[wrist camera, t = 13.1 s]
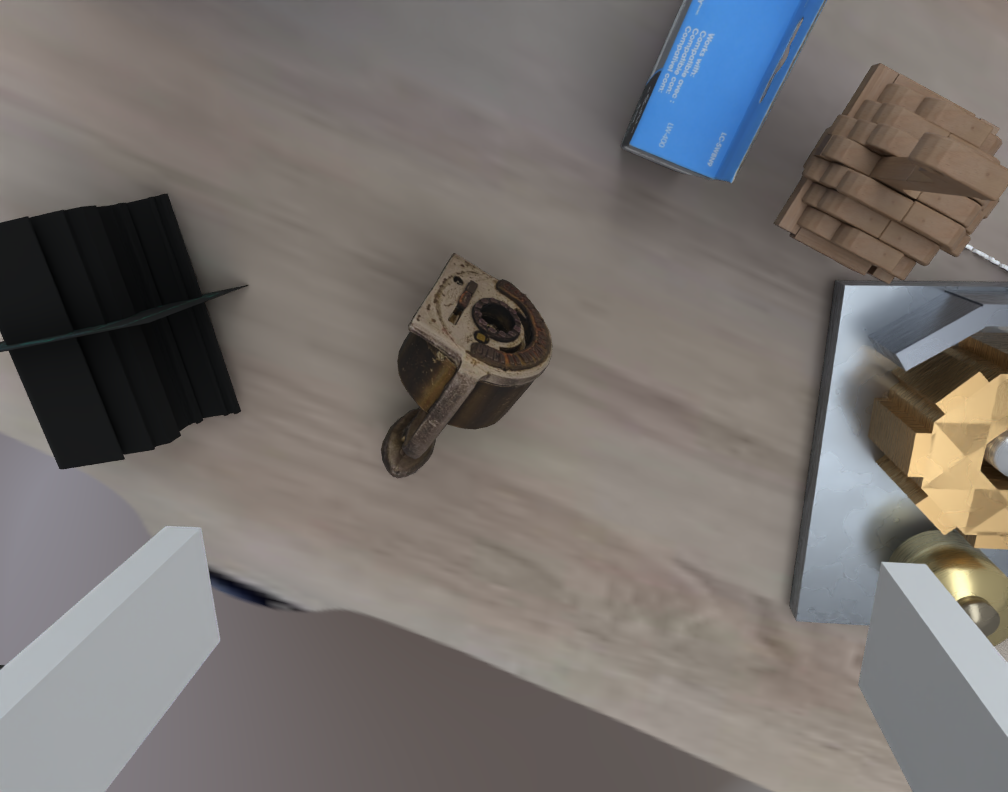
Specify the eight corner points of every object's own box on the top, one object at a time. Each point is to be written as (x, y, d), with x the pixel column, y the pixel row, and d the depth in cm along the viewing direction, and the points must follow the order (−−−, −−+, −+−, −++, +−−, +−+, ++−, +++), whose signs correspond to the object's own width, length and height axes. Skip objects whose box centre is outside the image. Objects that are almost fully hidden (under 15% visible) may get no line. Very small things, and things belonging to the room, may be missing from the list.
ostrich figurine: (728, 208, 37) (845, 255, 20) (803, 81, 34) (1009, 12, 17) (1006, 355, 37) (1349, 523, 20) (1098, 241, 35) (1569, 324, 18)
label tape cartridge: (698, -40, 33) (758, -148, 21) (774, -7, 33) (875, -96, 21) (617, 147, 36) (630, 142, 24) (686, 177, 36) (733, 187, 24)
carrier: (835, 280, 37) (884, 305, 30) (1128, 282, 35) (1241, 309, 29) (789, 605, 43) (822, 680, 37) (1035, 620, 41) (1112, 700, 35)
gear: (885, 331, 36) (930, 357, 31) (1085, 334, 35) (1164, 362, 30) (857, 497, 39) (894, 544, 34) (1041, 504, 38) (1105, 554, 33)
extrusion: (219, 184, 39) (101, 193, 30) (285, 395, 43) (199, 462, 33) (27, 229, 41) (-141, 250, 32) (105, 425, 45) (-23, 497, 35)
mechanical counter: (574, 279, 38) (568, 318, 29) (504, 479, 42) (479, 570, 33) (449, 237, 38) (402, 262, 29) (391, 441, 43) (335, 521, 33)
